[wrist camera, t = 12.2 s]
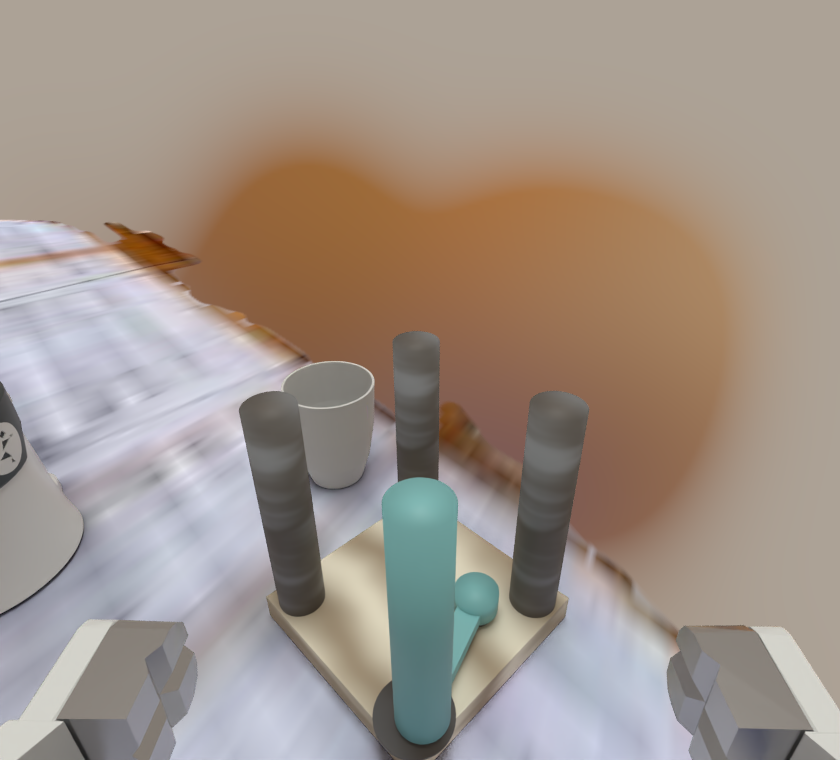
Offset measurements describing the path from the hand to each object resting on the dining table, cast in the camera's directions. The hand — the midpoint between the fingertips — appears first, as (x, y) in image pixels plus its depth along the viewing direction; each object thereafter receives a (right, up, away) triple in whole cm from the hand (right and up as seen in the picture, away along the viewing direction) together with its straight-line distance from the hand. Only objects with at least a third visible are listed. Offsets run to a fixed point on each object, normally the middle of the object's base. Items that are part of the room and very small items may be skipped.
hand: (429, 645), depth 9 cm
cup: (-8, -5, +45) cm, 46 cm away
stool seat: (0, -13, +31) cm, 33 cm away
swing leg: (+2, -13, +25) cm, 28 cm away
